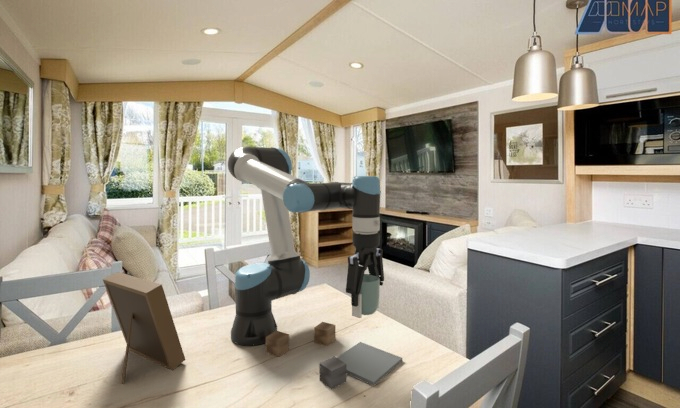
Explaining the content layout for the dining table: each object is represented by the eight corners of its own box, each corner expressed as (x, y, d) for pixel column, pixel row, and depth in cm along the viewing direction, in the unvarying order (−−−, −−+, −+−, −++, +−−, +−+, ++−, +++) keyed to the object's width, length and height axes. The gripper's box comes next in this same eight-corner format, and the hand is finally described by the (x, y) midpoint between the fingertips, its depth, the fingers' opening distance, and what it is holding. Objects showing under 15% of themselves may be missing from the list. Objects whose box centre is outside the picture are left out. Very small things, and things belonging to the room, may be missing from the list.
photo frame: (142, 343, 110) (137, 267, 108) (185, 363, 99) (180, 278, 97) (89, 366, 98) (82, 280, 95) (132, 391, 87) (125, 295, 84)
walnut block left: (314, 342, 112) (314, 327, 111) (322, 336, 116) (322, 321, 115) (327, 346, 109) (327, 331, 109) (335, 339, 114) (335, 324, 113)
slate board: (329, 365, 98) (329, 362, 98) (360, 344, 110) (360, 341, 110) (373, 385, 89) (373, 382, 89) (402, 361, 101) (402, 357, 100)
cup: (378, 319, 93) (378, 283, 92) (349, 316, 95) (349, 281, 94) (380, 308, 101) (381, 274, 100) (354, 306, 102) (354, 273, 101)
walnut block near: (265, 352, 105) (265, 337, 105) (276, 345, 110) (276, 330, 109) (278, 357, 103) (278, 341, 102) (289, 349, 107) (289, 334, 107)
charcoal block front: (319, 380, 91) (319, 362, 91) (334, 373, 94) (334, 356, 94) (331, 389, 87) (331, 371, 87) (346, 382, 91) (346, 363, 90)
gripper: (354, 239, 85) (354, 328, 87) (397, 228, 101) (396, 304, 103) (331, 235, 90) (331, 320, 92) (375, 226, 106) (375, 298, 108)
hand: (365, 311), depth 98 cm, fingers closed on cup, 8 cm apart
